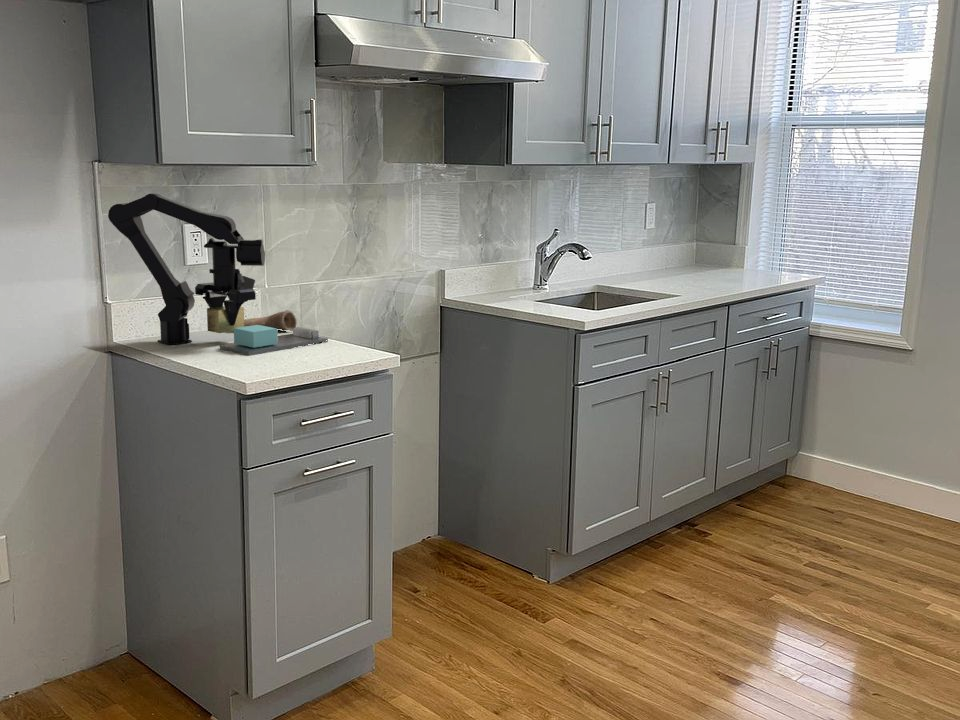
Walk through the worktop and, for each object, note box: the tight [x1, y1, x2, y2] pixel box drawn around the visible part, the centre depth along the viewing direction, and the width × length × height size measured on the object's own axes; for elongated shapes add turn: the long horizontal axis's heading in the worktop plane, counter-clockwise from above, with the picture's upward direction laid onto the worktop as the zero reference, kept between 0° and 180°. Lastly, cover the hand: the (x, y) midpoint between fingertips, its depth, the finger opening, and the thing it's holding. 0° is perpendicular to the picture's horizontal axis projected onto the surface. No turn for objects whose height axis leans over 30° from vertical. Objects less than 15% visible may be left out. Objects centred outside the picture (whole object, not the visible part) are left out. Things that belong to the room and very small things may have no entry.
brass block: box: [206, 305, 245, 334], centre depth 249 cm, size 8×5×6 cm, turn 141°
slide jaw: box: [233, 325, 279, 348], centre depth 243 cm, size 8×8×4 cm
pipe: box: [244, 309, 298, 331], centre depth 268 cm, size 6×17×10 cm
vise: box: [219, 326, 329, 356], centre depth 248 cm, size 26×12×3 cm, turn 141°
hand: (226, 324), depth 249 cm, fingers closed on brass block, 5 cm apart
